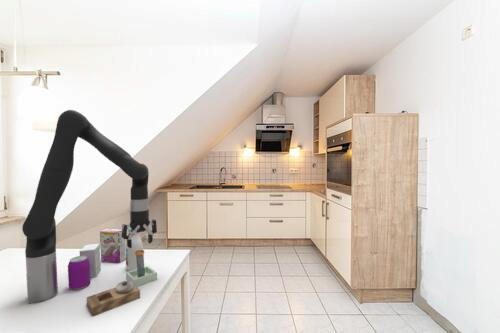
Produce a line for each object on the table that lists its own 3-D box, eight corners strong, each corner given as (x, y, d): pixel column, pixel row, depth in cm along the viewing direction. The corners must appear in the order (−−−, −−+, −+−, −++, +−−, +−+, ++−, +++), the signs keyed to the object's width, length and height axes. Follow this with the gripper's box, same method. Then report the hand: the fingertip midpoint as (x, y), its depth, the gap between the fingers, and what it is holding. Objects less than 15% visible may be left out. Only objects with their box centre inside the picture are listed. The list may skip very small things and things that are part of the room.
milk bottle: (146, 264, 128) (145, 225, 127) (138, 271, 120) (136, 230, 119) (131, 264, 129) (130, 225, 128) (122, 271, 121) (121, 230, 120)
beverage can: (68, 285, 108) (66, 258, 108) (89, 279, 113) (87, 253, 113) (69, 292, 103) (68, 263, 102) (91, 286, 107) (90, 258, 107)
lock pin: (135, 278, 113) (133, 251, 112) (144, 275, 116) (142, 249, 115) (138, 281, 110) (136, 254, 109) (147, 277, 113) (145, 251, 112)
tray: (133, 287, 106) (133, 280, 106) (125, 279, 113) (125, 272, 113) (157, 279, 113) (157, 272, 113) (148, 271, 120) (148, 265, 120)
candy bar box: (100, 262, 132) (99, 231, 131) (107, 258, 137) (105, 228, 136) (120, 263, 130) (118, 232, 129) (126, 259, 135) (125, 229, 134)
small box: (86, 271, 121) (85, 244, 121) (101, 269, 123) (100, 243, 123) (80, 279, 114) (79, 250, 113) (96, 277, 116) (95, 249, 115)
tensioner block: (92, 316, 87) (91, 299, 87) (86, 305, 94) (86, 289, 94) (140, 297, 98) (139, 283, 98) (131, 288, 105) (131, 275, 105)
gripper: (152, 205, 119) (152, 239, 120) (119, 209, 109) (120, 247, 110) (158, 208, 114) (159, 243, 114) (125, 212, 104) (125, 251, 104)
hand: (140, 245), depth 112 cm, fingers open, 8 cm apart
